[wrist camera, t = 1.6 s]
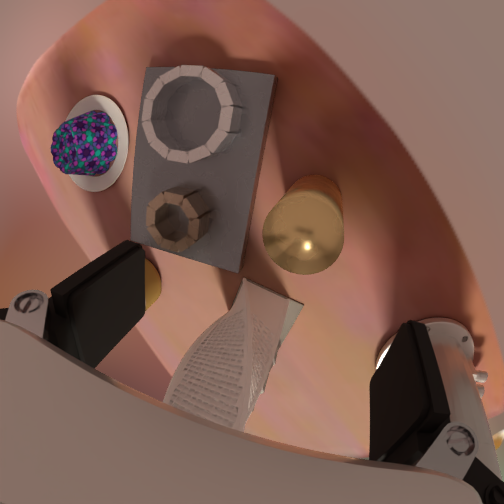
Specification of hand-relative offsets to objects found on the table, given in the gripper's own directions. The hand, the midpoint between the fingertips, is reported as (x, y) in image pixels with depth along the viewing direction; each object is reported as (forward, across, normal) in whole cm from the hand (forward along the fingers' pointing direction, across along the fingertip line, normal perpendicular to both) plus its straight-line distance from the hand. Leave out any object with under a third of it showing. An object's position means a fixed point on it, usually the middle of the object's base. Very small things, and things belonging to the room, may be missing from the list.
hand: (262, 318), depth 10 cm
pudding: (+20, +26, -1) cm, 33 cm away
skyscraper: (+20, +2, +13) cm, 24 cm away
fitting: (+19, 0, 0) cm, 19 cm away
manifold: (+19, +12, -1) cm, 22 cm away
